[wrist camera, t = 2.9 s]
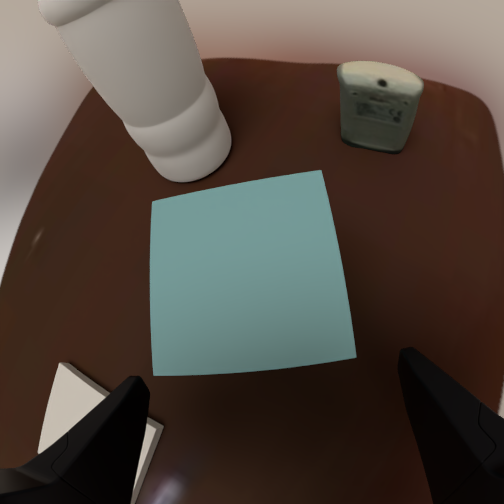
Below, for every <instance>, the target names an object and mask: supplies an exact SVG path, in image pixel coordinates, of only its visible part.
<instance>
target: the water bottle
mask: <svg viewBox="0 0 504 504" xmlns="http://www.w3.org/2000/svg"><path fill="white" fill-rule="evenodd" d="M38 6H39V10H40V13H41V15H42V16H43V18H44V19H45V20H46V21H47V22H48V23H49V24H51V25H53V26H55V27H56V29H57V31H58V33H59V35H60V37H61V39H62V40H63V42H64V44H65V46H66V47H67V49H68V50H69V52H70V54H71V55H72V57H73V58H74V60H75V61H76V63H77V64H78V66H79V67H80V69H81V70H82V71H83V73H84V74H85V75H86V77H87V78H88V80H89V81H90V82H91V84H92V85H93V86H94V88H95V89H96V90H97V92H98V93H99V94H100V95H101V97H102V98H103V99H104V100H105V102H106V103H107V104H108V105H109V106H110V107H111V109H112V110H113V111H114V112H115V113H116V114H117V115H118V116H119V117H120V118H121V119H122V120H123V123H124V125H125V127H126V129H127V131H128V133H129V134H130V135H131V137H132V138H133V139H134V141H135V142H136V143H137V144H138V145H139V146H140V147H141V148H142V149H143V150H144V151H145V153H146V155H147V157H148V158H149V160H150V162H151V163H152V164H153V166H154V167H155V169H156V170H157V171H158V172H159V173H160V174H161V175H162V176H163V177H165V178H166V179H169V180H171V181H175V182H190V181H195V180H198V179H201V178H203V177H205V176H207V175H209V174H210V173H212V172H213V171H215V170H216V169H217V168H218V167H219V166H220V165H221V164H222V163H223V162H224V160H225V159H226V157H227V155H228V153H229V151H230V148H231V134H230V130H229V127H228V125H227V122H226V120H225V118H224V116H223V114H222V112H221V111H220V109H219V106H218V100H217V97H216V94H215V91H214V89H213V86H212V84H211V83H210V81H209V79H208V78H207V76H206V75H205V73H204V69H203V65H202V61H201V58H200V55H199V52H198V49H197V46H196V43H195V40H194V37H193V35H192V32H191V30H190V27H189V25H188V22H187V19H186V17H185V15H184V12H183V10H182V8H181V6H180V3H179V1H178V0H38Z"/></svg>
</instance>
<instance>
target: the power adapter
mask: <svg viewBox="0 0 504 504" xmlns="http://www.w3.org/2000/svg"><path fill="white" fill-rule="evenodd" d="M337 77H338V80H339V83H340V107H341V137H342V141H343V142H344V143H345V144H347V145H349V146H351V147H357V148H365V149H370V150H375V151H380V152H385V153H390V154H398V153H400V152H401V150H402V149H403V147H404V145H405V143H406V141H407V138H408V136H409V134H410V131H411V128H412V125H413V122H414V119H415V115H416V111H417V106H418V102H419V98H420V96H421V94H422V92H423V87H424V82H423V80H422V79H421V78H420V77H419V76H417V75H416V74H414V73H412V72H410V71H408V70H405V69H403V68H400V67H397V66H394V65H390V64H385V63H379V62H373V61H372V62H371V61H354V62H346V63H343V64H341V65H339V66H338V68H337Z"/></svg>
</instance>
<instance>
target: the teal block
mask: <svg viewBox="0 0 504 504" xmlns="http://www.w3.org/2000/svg"><path fill="white" fill-rule="evenodd" d="M150 316H151V342H152V360H153V375H154V376H176V375H207V374H225V373H239V372H252V371H263V370H272V369H282V368H290V367H298V366H306V365H313V364H320V363H326V362H333V361H339V360H345V359H350V358H356V350H355V342H354V335H353V328H352V321H351V314H350V308H349V302H348V296H347V290H346V284H345V278H344V273H343V267H342V262H341V257H340V252H339V247H338V242H337V237H336V232H335V227H334V223H333V218H332V213H331V209H330V205H329V200H328V196H327V192H326V188H325V183H324V179H323V175H322V171H321V170H319V171H312V172H305V173H298V174H292V175H285V176H279V177H273V178H267V179H261V180H255V181H250V182H244V183H239V184H233V185H228V186H223V187H218V188H213V189H208V190H203V191H198V192H193V193H188V194H184V195H179V196H175V197H170V198H166V199H161V200H157V201H153V202H152V217H151V243H150Z"/></svg>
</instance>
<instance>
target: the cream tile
mask: <svg viewBox="0 0 504 504" xmlns="http://www.w3.org/2000/svg"><path fill="white" fill-rule="evenodd" d="M109 394H110V393H109V392H108V391H106V390H105V389H103V388H102V387H100V386H99V385H98V384H96V383H95V382H93V381H92V380H91V379H89V378H88V377H86V376H85V375H84V374H82V373H81V372H80V371H78V370H77V369H76V368H74V367H73V366H72V365H71V364H69V363H59V366H58V369H57V373H56V376H55V380H54V383H53V387H52V391H51V394H50V398H49V402H48V406H47V410H46V415H45V419H44V423H43V428H42V433H41V438H40V443H39V448H38V453H39V454H40V453H41V452H43V451H44V450H45V449H47V448H48V447H49V446H51V445H52V444H53V443H54V442H56V441H57V440H58V439H59V438H60V437H62V436H63V435H64V434H65V433H66V432H68V430H70V429H71V428H72V427H73V426H74V425H75V424H76V423H77V422H79V421H80V420H81V419H82V418H83V417H84V416H85V415H86V414H88V413H89V412H90V411H91V410H92V409H93V408H94V407H95V406H97V405H98V404H99V403H100V402H101V401H102V400H103V399H104V398H106V397H107V396H108V395H109ZM163 427H164V426H163V425H161V424H159V423H157V422H156V421H154V420H152V419H150V418H149V417H147V426H146V432H145V437H144V441H143V446H142V450H141V455H140V460H139V464H138V469H137V474H136V479H135V484H134V489H133V495H132V500H131V504H135V502H136V499H137V496H138V494H139V491H140V488H141V486H142V483H143V480H144V478H145V475H146V472H147V470H148V467H149V464H150V462H151V459H152V456H153V454H154V451H155V448H156V446H157V443H158V440H159V438H160V435H161V433H162V430H163Z"/></svg>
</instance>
